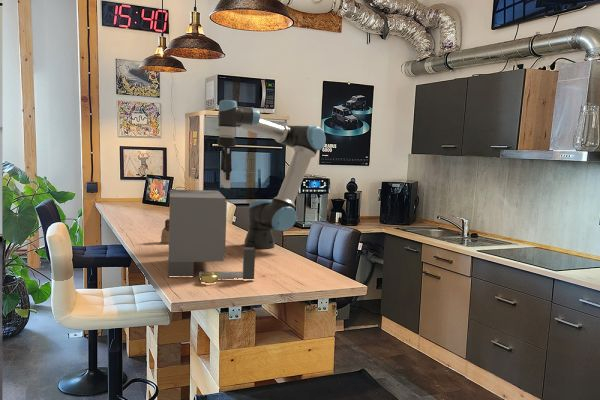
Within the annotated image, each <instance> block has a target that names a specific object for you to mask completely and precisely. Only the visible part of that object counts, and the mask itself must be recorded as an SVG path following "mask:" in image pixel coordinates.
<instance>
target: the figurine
mask: <svg viewBox="0 0 600 400" xmlns="http://www.w3.org/2000/svg"><path fill="white" fill-rule="evenodd" d="M160 238H161V239H160V243H161V244H162V243H163V245H169V218H167V219H165V221H164V228H163V229H162V230H161V236H160Z"/></svg>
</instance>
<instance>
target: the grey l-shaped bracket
mask: <svg viewBox="0 0 600 400" xmlns="http://www.w3.org/2000/svg"><path fill="white" fill-rule="evenodd" d="M242 254H243V256H242V260H243V261H242V271H199V272H198V279H199V278H201V274H203V273H214V274H217V275H218V279H234V278H237V279H238V278H243V279H254V280H255V267H256V265H255V263H256V262H255V261H256V249H255V248H254V247H246V246H245V247H243V253H242Z"/></svg>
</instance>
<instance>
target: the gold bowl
mask: <svg viewBox="0 0 600 400" xmlns="http://www.w3.org/2000/svg"><path fill="white" fill-rule="evenodd" d="M217 280H218V275H217V274H214V273H203V274H201V281H200V282H205V283H214V282H217V283H218V281H217Z"/></svg>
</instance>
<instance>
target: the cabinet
mask: <svg viewBox="0 0 600 400" xmlns="http://www.w3.org/2000/svg"><path fill="white" fill-rule="evenodd" d="M226 199H227V198H226V197H225V196H224V195H223V194H222V193H221V192H220V191H219V190H204V189H197V190H196V189H169V213H168V214H169V218H168V219H169V244H168V268H167V269H168V271H167V272H168V274H167V275H168V276H193V277H194V264H195V262H196V263H200V262H202V263H204V262H209V263H210V262H224V258H225V257H226V242H227V240H226V239H227V238H226V237H227V235H226V234H227V213H228V211H227V210H228V209H227V206H228V201H227V200H226Z"/></svg>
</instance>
